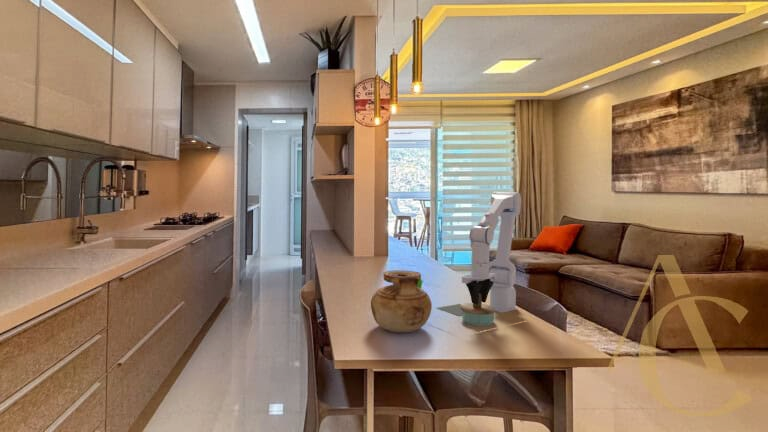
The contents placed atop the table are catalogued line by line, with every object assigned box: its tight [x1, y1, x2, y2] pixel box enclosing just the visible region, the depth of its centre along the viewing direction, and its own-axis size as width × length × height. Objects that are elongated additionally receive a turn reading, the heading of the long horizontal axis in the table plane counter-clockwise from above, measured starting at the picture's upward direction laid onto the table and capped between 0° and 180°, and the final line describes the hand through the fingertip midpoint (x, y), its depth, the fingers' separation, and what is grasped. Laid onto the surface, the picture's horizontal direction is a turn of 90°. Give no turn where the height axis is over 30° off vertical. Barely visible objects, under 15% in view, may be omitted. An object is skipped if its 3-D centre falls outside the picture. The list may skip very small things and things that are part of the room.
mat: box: [436, 303, 463, 317], centre depth 152 cm, size 12×12×1 cm
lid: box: [460, 294, 495, 314], centre depth 139 cm, size 11×11×5 cm
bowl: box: [461, 311, 495, 327], centre depth 138 cm, size 10×10×4 cm
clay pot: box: [370, 270, 433, 334], centre depth 129 cm, size 19×19×20 cm
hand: (478, 302), depth 138 cm, fingers open, 3 cm apart
